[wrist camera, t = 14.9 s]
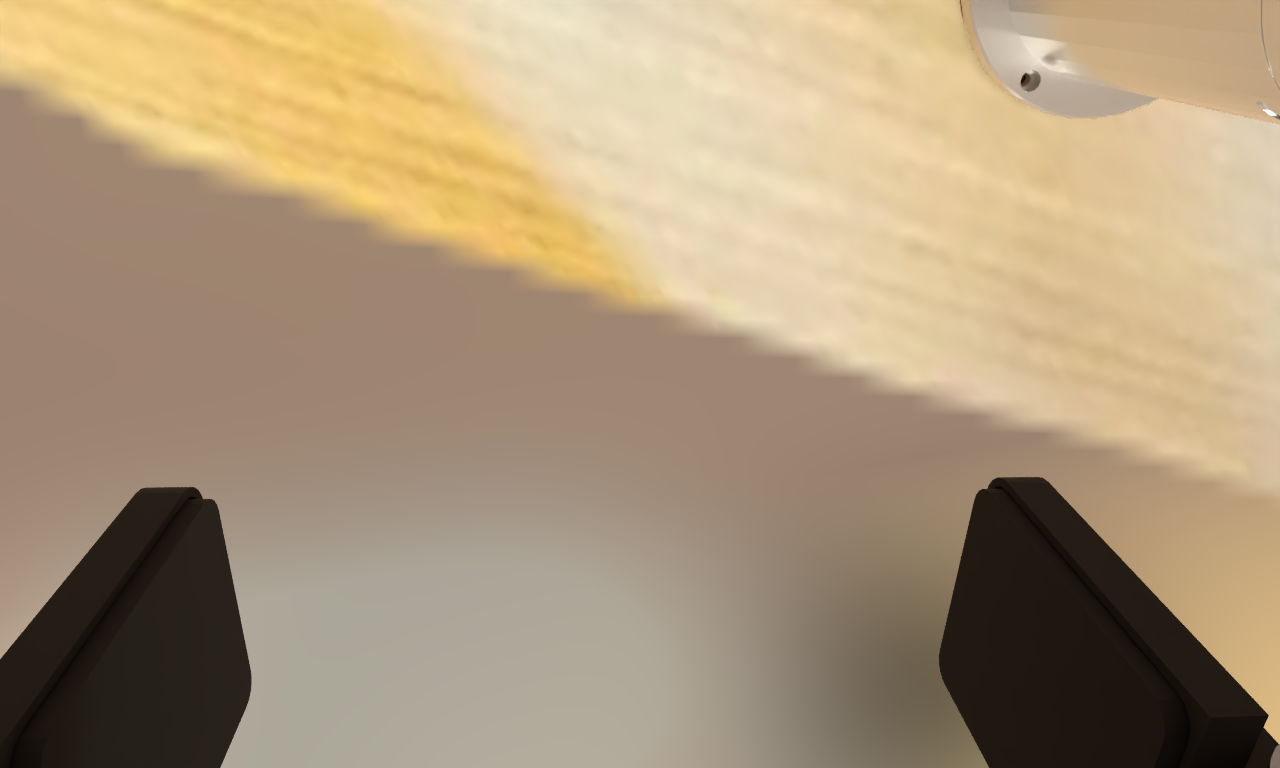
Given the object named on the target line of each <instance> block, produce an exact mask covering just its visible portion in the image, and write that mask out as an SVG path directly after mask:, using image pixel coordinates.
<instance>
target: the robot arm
mask: <svg viewBox="0 0 1280 768" xmlns="http://www.w3.org/2000/svg"><path fill="white" fill-rule="evenodd" d="M961 5H962V13H963V20H964V25H965V28H966V31H967V34H968V37H969V40H970V43H971V46H972V49H973V51H974V53H975V54H976V56H977V58H978V60H979V61H980V63H981V65H982V66H983V68H984V70H985V71H986V73H987V74H988V75H989V76H990V77H991V78H992V79H993V80H994V82H995V83H996V84H997V85H998V86H999V87H1000V88H1001V89H1002V90H1003V91H1004V92H1006V93H1007V94H1009V95H1010V96H1012V97H1013V98H1015V99H1016V100H1018V101H1019V102H1021V103H1022V104H1024V105H1026V106H1029V107H1031V108H1034V109H1037V110H1039V111H1042V112H1045V113H1048V114H1052V115H1056V116H1061V117H1065V118H1069V119H1099V118H1105V117H1110V116H1116V115H1122V114H1125V113H1127V112H1130V111H1133V110H1135V109H1138V108H1141V107H1144V106H1146V105H1149V104H1151V103H1153V102H1154V101H1156V100H1158V99H1164V100H1169V101H1173V102H1178V103H1182V104H1187V105H1192V106H1196V107H1201V108H1205V109H1210V110H1215V111H1219V112H1224V113H1228V114H1233V115H1238V116H1242V117H1247V118H1251V119H1256V120H1261V121H1265V122H1270V123H1274V124H1279V125H1280V0H961ZM1024 74H1025V75H1026V79H1025V81H1024V82H1023V83H1022V84H1021V83H1020V81H1021V78H1022V76H1023V75H1024ZM939 665H940V672H941V676H942V679H943V681H944V683H945V685H946V687H947V689H948V691H949V692H950V695H951V697H952V699H953V700H954V702H955V704H956V706H957V708H958V710H959V712H960V713H961V715H962V717H963V719H964V721H965V723H966V725H967V727H968V729H969V730H970V732H971V734H972V736H973V738H974V740H975V742H976V743H977V745H978V747H979V749H980V751H981V753H982V755H983V757H984V758H985V760H986V762H987V764H988V766H989V768H1280V744H1278V743H1277V742H1276V741H1275V740H1274V739H1273V737H1272V736H1271V735H1270V734H1269V733H1268V732H1267V731H1266V730H1265V729H1264V728H1263V727H1264V725H1265V722H1266V720H1267V718H1268V714H1267V713H1266V712H1265V711H1264V710H1263V709H1262V708H1261V707H1260V706H1259V704H1258V703H1257V702H1256V701H1255V700H1254V699H1253V698H1252V697H1251V696H1250V695H1249V694H1248V693H1247V692H1246V691H1245V690H1244V689H1243V688H1242V686H1241V685H1240V684H1239V683H1238V682H1237V681H1236V680H1235V679H1234V678H1233V677H1232V676H1231V675H1230V674H1229V673H1228V672H1227V671H1226V670H1225V668H1224V667H1223V666H1222V665H1221V664H1220V663H1219V662H1218V661H1217V660H1216V659H1215V658H1214V657H1213V656H1212V655H1211V654H1210V653H1209V652H1208V651H1207V649H1206V648H1205V647H1204V646H1203V645H1202V644H1201V643H1200V642H1199V641H1198V640H1197V639H1196V638H1195V637H1194V636H1193V635H1192V634H1191V633H1190V631H1189V630H1188V629H1187V628H1186V627H1185V626H1184V625H1183V624H1182V623H1181V622H1180V621H1179V620H1178V619H1177V618H1176V617H1175V616H1174V615H1173V614H1172V612H1171V611H1170V610H1169V609H1168V608H1167V607H1166V606H1165V605H1164V604H1163V603H1162V602H1161V601H1160V600H1159V599H1158V598H1157V596H1156V595H1155V594H1154V593H1153V592H1152V591H1151V590H1150V589H1149V588H1148V587H1147V586H1146V585H1145V584H1144V583H1143V582H1142V581H1141V580H1140V578H1138V577H1137V575H1136V574H1135V573H1134V572H1133V571H1132V570H1131V569H1130V568H1129V567H1128V566H1127V565H1126V564H1125V563H1124V562H1123V561H1122V559H1121V558H1120V557H1119V556H1118V555H1117V554H1116V553H1115V552H1114V551H1113V550H1112V549H1111V548H1110V547H1109V546H1108V545H1107V544H1106V542H1105V541H1104V540H1103V539H1102V538H1101V537H1100V536H1099V535H1098V534H1097V533H1096V532H1095V531H1094V530H1093V529H1092V528H1091V527H1090V526H1089V525H1088V523H1087V522H1086V521H1085V520H1084V519H1083V518H1082V517H1081V516H1080V515H1079V514H1078V513H1077V512H1076V511H1075V510H1074V509H1073V508H1072V507H1071V505H1069V503H1068V502H1067V501H1066V500H1065V499H1064V498H1063V497H1062V496H1061V495H1060V494H1059V493H1058V492H1057V491H1056V490H1055V488H1053V486H1052V485H1051V484H1050V483H1049V482H1048V481H1046V480H1045V479H1044V478H1040V477H1011V478H1010V477H1008V478H1007V477H1006V478H1005V477H1004V478H996V479H994V480H992V482H991V483H990V484H989V486H988V489H982V490H980V491H979V492H978V493H977V494H976V497H975V500H974V504H973V508H972V513H971V518H970V521H969V526H968V530H967V535H966V539H965V543H964V548H963V552H962V556H961V561H960V565H959V569H958V574H957V578H956V582H955V587H954V591H953V595H952V600H951V604H950V609H949V613H948V618H947V622H946V626H945V630H944V635H943V639H942V643H941V648H940V653H939ZM250 692H251V670H250V664H249V660H248V655H247V649H246V645H245V640H244V634H243V629H242V624H241V620H240V614H239V609H238V604H237V599H236V594H235V589H234V584H233V579H232V575H231V570H230V565H229V559H228V554H227V550H226V545H225V539H224V535H223V529H222V525H221V520H220V515H219V510H218V507H217V504H216V503H215V501H214V500H212V499H203V498H202V496H201V494H200V492H199V490H197V489H196V488H194V487H164V488H143V489H140V490H139V491H138V492H137V493H136V494H135V495H134V496H133V498H132V499H131V500H130V501H129V502H128V504H127V505H126V506H125V507H124V509H123V510H122V511H121V512H120V514H119V515H118V516H117V517H116V518H115V520H114V521H113V522H112V523H111V525H110V526H109V527H108V528H107V529H106V531H105V532H104V533H103V534H102V536H101V537H100V538H99V539H98V541H97V542H96V543H95V544H94V545H93V547H92V548H91V549H90V550H89V552H88V553H87V554H86V555H85V556H84V558H83V559H82V560H81V561H80V563H79V564H78V565H77V566H76V567H75V569H74V570H73V571H72V572H71V573H70V575H69V576H68V577H67V578H66V580H65V581H64V582H63V583H62V585H61V586H60V587H59V588H58V589H57V591H56V592H55V593H54V595H53V596H52V597H51V598H50V599H49V601H48V602H47V603H46V604H45V605H44V607H43V608H42V609H41V610H40V612H39V613H38V614H37V615H36V616H35V618H34V619H33V620H32V621H31V623H30V624H29V625H28V626H27V628H26V629H25V630H24V631H23V632H22V633H21V635H20V636H19V637H18V638H17V640H16V641H15V642H14V643H13V644H12V646H11V647H10V648H9V649H8V651H7V652H6V653H5V654H4V656H3V657H2V658H1V659H0V768H220V767H221V764H222V762H223V760H224V758H225V755H226V753H227V750H228V748H229V746H230V744H231V741H232V739H233V737H234V734H235V732H236V730H237V728H238V725H239V723H240V721H241V718H242V716H243V714H244V711H245V709H246V706H247V704H248V701H249V696H250Z"/></svg>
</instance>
